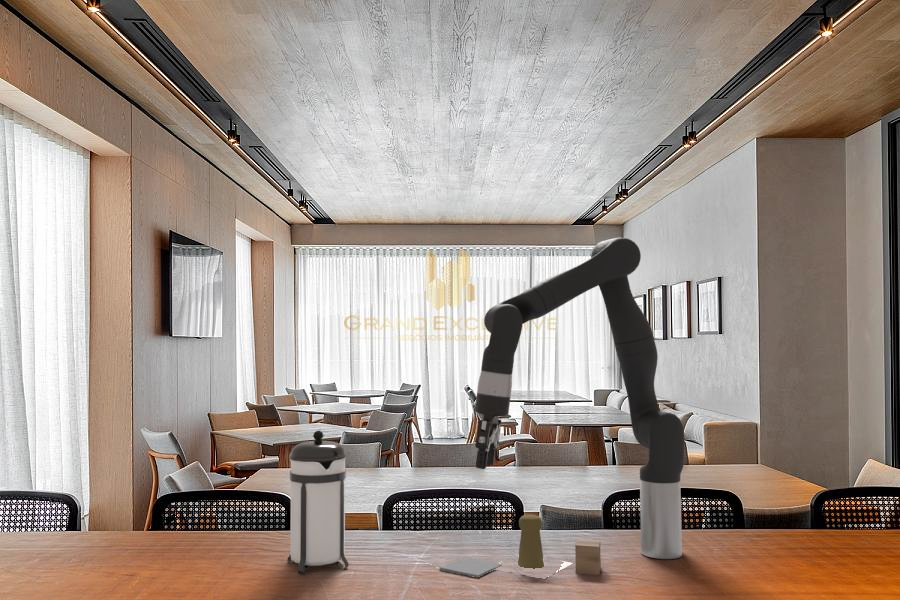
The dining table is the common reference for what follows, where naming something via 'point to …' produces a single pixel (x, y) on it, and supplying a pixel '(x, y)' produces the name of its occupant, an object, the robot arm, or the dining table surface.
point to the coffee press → (317, 504)
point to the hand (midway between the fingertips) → (484, 466)
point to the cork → (530, 542)
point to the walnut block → (588, 556)
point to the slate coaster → (470, 566)
